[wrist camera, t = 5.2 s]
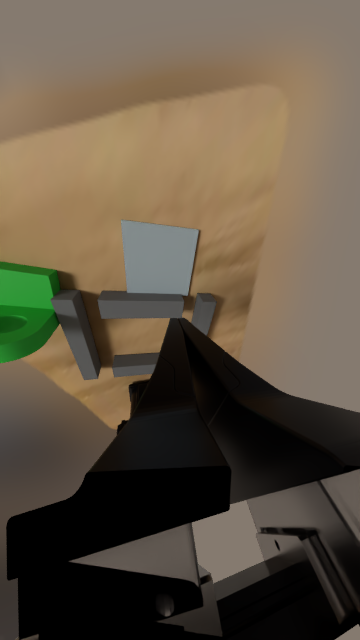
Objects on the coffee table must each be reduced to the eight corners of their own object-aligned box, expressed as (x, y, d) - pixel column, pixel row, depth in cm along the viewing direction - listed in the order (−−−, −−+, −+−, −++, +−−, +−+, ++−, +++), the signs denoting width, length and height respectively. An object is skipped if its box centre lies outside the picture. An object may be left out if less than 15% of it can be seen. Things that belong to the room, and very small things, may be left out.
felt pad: (187, 294, 21) (187, 295, 21) (127, 293, 20) (127, 294, 19) (197, 229, 17) (198, 229, 16) (121, 219, 15) (120, 219, 15)
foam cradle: (193, 358, 30) (196, 369, 28) (88, 367, 26) (84, 380, 24) (210, 293, 22) (216, 301, 20) (60, 289, 18) (50, 299, 16)
